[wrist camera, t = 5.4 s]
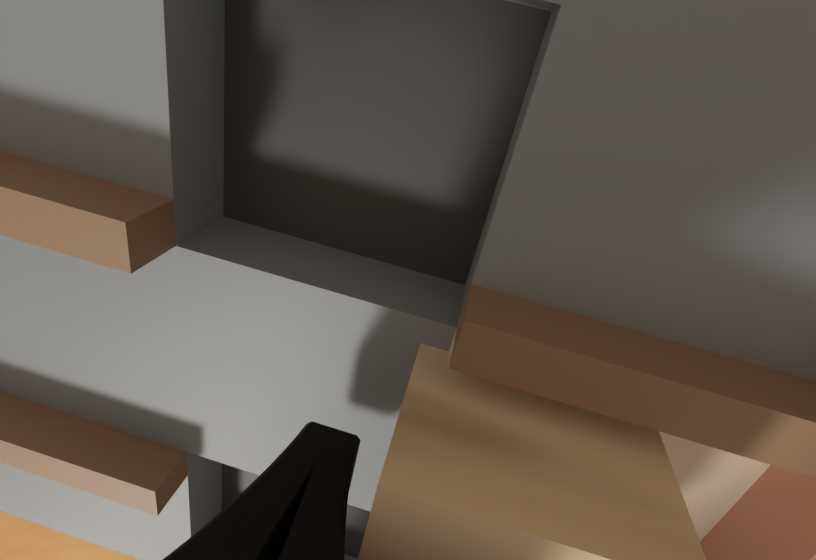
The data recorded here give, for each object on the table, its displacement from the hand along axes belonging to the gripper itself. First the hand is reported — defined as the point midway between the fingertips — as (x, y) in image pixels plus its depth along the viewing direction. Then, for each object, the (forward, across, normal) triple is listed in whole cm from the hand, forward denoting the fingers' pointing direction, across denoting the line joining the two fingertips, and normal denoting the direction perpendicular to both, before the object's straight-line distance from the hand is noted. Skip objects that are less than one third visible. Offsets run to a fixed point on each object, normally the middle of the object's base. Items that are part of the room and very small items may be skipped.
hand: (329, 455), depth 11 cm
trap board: (+4, +2, 0) cm, 4 cm away
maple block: (+1, -4, 0) cm, 4 cm away
